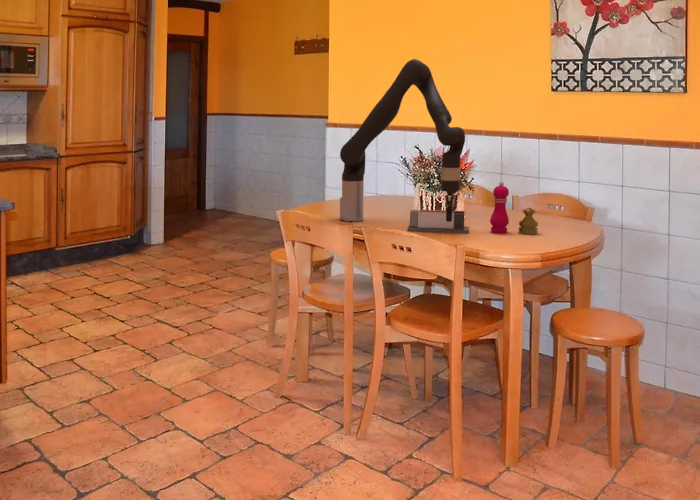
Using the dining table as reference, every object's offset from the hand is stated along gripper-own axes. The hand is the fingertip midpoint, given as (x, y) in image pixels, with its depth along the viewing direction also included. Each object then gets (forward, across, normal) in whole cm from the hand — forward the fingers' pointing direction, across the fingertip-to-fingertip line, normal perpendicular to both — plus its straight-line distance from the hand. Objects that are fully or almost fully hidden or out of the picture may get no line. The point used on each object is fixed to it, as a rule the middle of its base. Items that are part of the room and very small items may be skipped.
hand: (449, 219), depth 277 cm
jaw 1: (+3, +2, +3) cm, 5 cm away
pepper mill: (+5, +1, -20) cm, 20 cm away
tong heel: (+3, 0, +14) cm, 14 cm away
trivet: (+4, 0, +4) cm, 6 cm away
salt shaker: (+5, +1, -31) cm, 31 cm away
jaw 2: (+3, -3, +3) cm, 5 cm away
